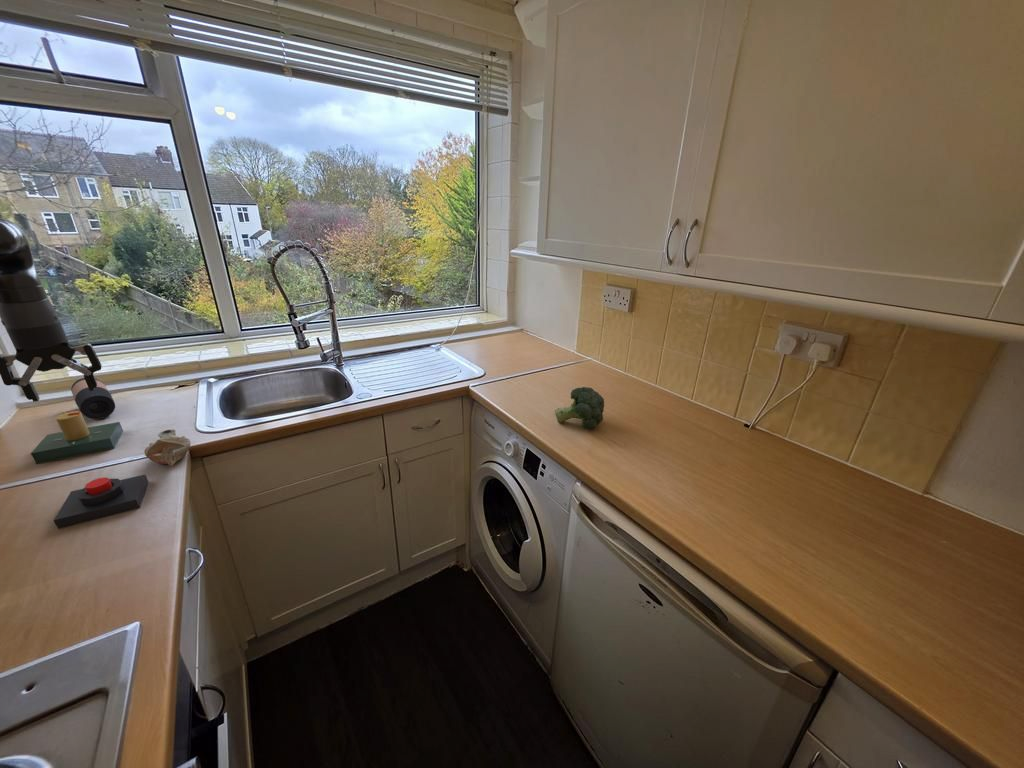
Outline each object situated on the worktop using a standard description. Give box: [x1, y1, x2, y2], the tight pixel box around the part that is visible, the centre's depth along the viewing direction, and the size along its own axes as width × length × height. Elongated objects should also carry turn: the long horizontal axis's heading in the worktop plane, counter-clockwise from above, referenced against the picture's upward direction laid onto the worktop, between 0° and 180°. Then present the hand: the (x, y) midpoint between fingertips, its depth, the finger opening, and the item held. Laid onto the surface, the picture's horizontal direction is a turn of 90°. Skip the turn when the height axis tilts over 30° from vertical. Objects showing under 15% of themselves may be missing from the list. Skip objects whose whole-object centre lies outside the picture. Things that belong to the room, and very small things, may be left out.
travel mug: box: [70, 377, 116, 420], centre depth 121 cm, size 8×8×20 cm
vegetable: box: [554, 386, 605, 431], centre depth 117 cm, size 12×13×15 cm
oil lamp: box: [143, 429, 191, 467], centre depth 98 cm, size 9×21×10 cm, turn 39°
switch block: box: [53, 473, 150, 530], centre depth 83 cm, size 12×10×4 cm
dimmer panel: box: [30, 421, 124, 465], centre depth 103 cm, size 14×10×3 cm
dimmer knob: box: [55, 410, 90, 441], centre depth 101 cm, size 4×4×6 cm
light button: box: [84, 476, 112, 495], centre depth 82 cm, size 4×4×2 cm
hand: (65, 395), depth 88 cm, fingers open, 8 cm apart
